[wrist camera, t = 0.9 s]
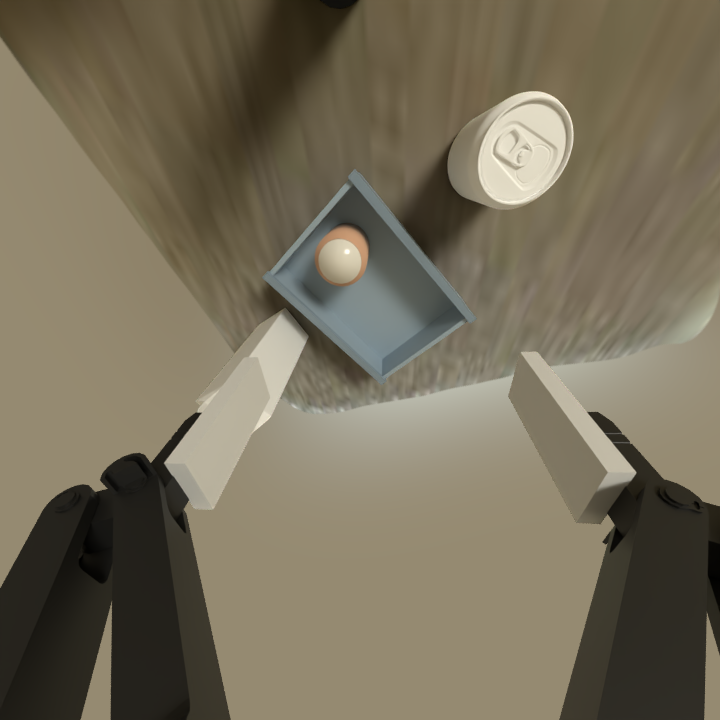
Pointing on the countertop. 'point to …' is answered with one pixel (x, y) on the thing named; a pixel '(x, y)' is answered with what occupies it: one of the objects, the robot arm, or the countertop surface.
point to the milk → (265, 359)
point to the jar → (343, 254)
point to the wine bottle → (338, 3)
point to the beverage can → (512, 151)
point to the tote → (372, 287)
